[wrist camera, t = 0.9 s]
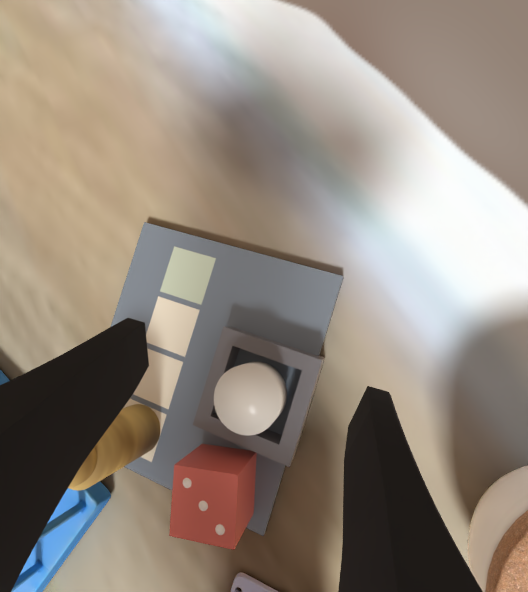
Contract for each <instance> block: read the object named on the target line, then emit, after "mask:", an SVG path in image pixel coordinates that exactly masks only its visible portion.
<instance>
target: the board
mask: <svg viewBox="0 0 528 592" xmlns="http://www.w3.org/2000/svg"><path fill="white" fill-rule="evenodd" d="M342 280H343V276H341V275H337V274H334V273H330V272H326V271H323V270H319V269H315V268H311V267H308V266H304V265H300V264H297V263H293V262H289V261H286V260H282V259H278V258H275V257H271V256H267V255H264V254H260V253H256V252H253V251H249V250H245V249H241V248H238V247H234V246H230V245H227V244H223V243H219V242H216V241H212V240H208V239H205V238H201V237H197V236H194V235H190V234H186V233H183V232H179V231H175V230H171V229H168V228H164V227H160V226H157V225H153V224H149V223H146V222H144V225H143V228H142V231H141V234H140V237H139V240H138V243H137V246H136V249H135V253H134V256H133V259H132V262H131V265H130V268H129V271H128V274H127V278H126V281H125V284H124V287H123V290H122V293H121V296H120V299H119V302H118V306H117V309H116V312H115V315H114V318H113V321H112V324H111V327H112V326H114V325H115V324H117V323H119V322H121V321H122V320H124V319H126V318H131V319H135V320H138V321H142V322H145V329H146V340H147V350H148V360H149V367H148V368H147V370H146V372H145V374H144V376H143V378H142V380H141V381H140V383H139V385H138V387H137V388H136V390H135V392H134V393H133V395H132V396H131V398H130V399H129V400H128V402H127V403H126V405H125V406H124V407H123V408H125V407H128V406H131V405H135V404H142V405H146V406H148V407H149V408H151V409H152V410H153V411H154V412H155V414H156V415H157V417H158V419H159V423H160V437H159V440H158V442H157V444H156V446H155V447H154V448H153V449H152V450H151V451H149V452H147V453H146V454H144V455H142V456H141V457H139V458H137V459H136V460H134V461H132V462H131V463H129V464H127V465H126V466H124V467H126V468H128V469H130V470H132V471H134V472H136V473H138V474H140V475H142V476H144V477H146V478H148V479H150V480H152V481H154V482H156V483H158V484H160V485H162V486H164V487H166V488H168V489H170V490H173V476H174V465H175V464H176V463H177V462H179V461H180V460H181V459H183V458H184V457H185V456H187V455H188V454H189V453H190V452H192V451H193V450H194V449H196V448H197V447H198V446H200V445H201V444H208V445H215V446H222V447H229V448H236V449H244V450H249V449H247V448H244V447H242V446H240V445H237V444H235V443H233V442H230V441H228V440H226V439H224V438H221V437H219V436H217V435H214V434H212V433H210V432H207V431H205V430H203V429H201V428H198V427H196V426H194V425H193V422H194V419H195V415H196V412H197V409H198V406H199V403H200V400H201V396H202V393H203V390H204V387H205V384H206V380H207V377H208V374H209V371H210V368H211V364H212V361H213V358H214V355H215V352H216V349H217V345H218V342H219V339H220V336H221V333H222V329H223V327H234V328H237V329H240V330H243V331H246V332H249V333H252V334H255V335H258V336H261V337H264V338H267V339H270V340H273V341H276V342H278V343H281V344H284V345H287V346H290V347H293V348H296V349H299V350H302V351H305V352H308V353H311V354H314V355H317V356H319V355H320V352H321V349H322V345H323V342H324V339H325V336H326V332H327V329H328V326H329V323H330V319H331V316H332V313H333V310H334V306H335V303H336V300H337V297H338V293H339V290H340V287H341V284H342ZM249 362H263V363H267V364H269V365H271V366H272V367H274V368H275V369H276V370H277V371H278V372H279V373H280V374H281V376H282V377H283V379H284V381H285V384H286V388H287V400H286V404H285V407H284V409H283V411H282V412H281V414H280V415H279V416H278V417H277V419H276V420H275V421H274V422H273V423H272V425H271V426H270V427H269V428H267V429H268V430H270V431H273V432H275V433H277V434H280V435H282V434H283V431H284V427H285V424H286V421H287V418H288V414H289V411H290V408H291V405H292V401H293V398H294V395H295V392H296V388H297V385H298V382H299V379H300V375H301V372H302V370H299V369H297V368H294V367H291V366H288V365H285V364H283V363H280V362H277V361H274V360H271V359H268V358H266V357H263V356H260V355H257V354H254V353H251V352H249V351H246V350H243V349H239V352H238V355H237V359H236V362H235V365H234V367H236V366H239V365H242V364H245V363H249ZM285 466H286V465H283V464H281V463H279V462H276V461H274V460H272V459H270V458H267V457H265V456H263V455H260V454H258V453H257V455H256V476H255V496H254V514H253V516H252V517H251V519H250V521H249V523H248V525H247V527H246V528H248V529H250V530H252V531H254V532H256V533H258V534H260V535H262V536H264V534H265V531H266V528H267V525H268V522H269V518H270V515H271V512H272V509H273V505H274V502H275V499H276V495H277V492H278V489H279V486H280V482H281V479H282V476H283V473H284V469H285Z"/></svg>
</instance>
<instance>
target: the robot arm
mask: <svg viewBox="0 0 528 592" xmlns="http://www.w3.org/2000/svg"><path fill="white" fill-rule="evenodd" d="M148 367H149V360H148V350H147V340H146V329H145V322H142V321H138V320H135V319H131V318H126V319H124V320H122V321H121V322H119V323H117V324H115V325H114V326H112V327H110V328H108V329H107V330H105V331H103V332H101V333H100V334H98V335H96V336H94V337H93V338H91V339H89V340H88V341H86V342H84V343H82V344H80V345H79V346H77V347H75V348H73V349H71V350H70V351H68V352H66V353H64V354H62V355H61V356H59V357H57V358H55V359H53V360H51V361H49V362H47V363H45V364H43V365H41V366H39V367H37V368H35V369H33V370H31V371H29V372H27V373H25V374H23V375H21V376H19V377H17V378H15V379H13V380H10V381H8V382H6V383H4V384H2V385H0V592H11V591H12V589H13V587H14V585H15V583H16V581H17V579H18V577H19V575H20V573H21V571H22V569H23V567H24V565H25V563H26V562H27V560H28V558H29V556H30V554H31V552H32V550H33V549H34V547H35V545H36V543H37V541H38V539H39V537H40V536H41V534H42V532H43V530H44V528H45V527H46V525H47V523H48V521H49V520H50V518H51V516H52V514H53V513H54V511H55V509H56V507H57V506H58V504H59V502H60V500H61V499H62V497H63V495H64V494H65V492H66V490H67V489H68V487H69V485H70V484H71V482H72V480H73V479H74V477H75V475H76V474H77V472H78V470H79V469H80V467H81V466H82V464H83V463H84V461H85V460H86V458H87V457H88V455H89V454H90V452H91V451H92V450H93V448H94V447H95V445H96V444H97V443H98V441H99V440H100V439H101V437H102V436H103V435H104V433H105V432H106V431H107V429H108V428H109V426H110V425H111V424H112V422H113V421H114V420H115V418H116V417H117V416H118V414H119V413H120V412H121V410H122V409H123V407H124V406H125V405H126V403H127V402H128V400H129V399H130V398H131V396H132V395H133V393H134V392H135V390H136V388H137V387H138V385H139V383H140V381H141V380H142V378H143V376H144V374H145V372H146V370H147V368H148ZM237 587H239V588H241V590H242V591H241V592H278V591H276V590H275V589H273V588H271V587H269V586H267V585H265V584H263V583H262V582H260V581H258V580H256V579H254V578H252V577H250V576H249V575H247V574H245V573H242V572H241V573H238V574H237V575H236V577H235V579H234V582H233V585H232V588H231V592H240V591H238V590H237ZM338 592H483V591H482V589H481V588H480V586H479V584H478V583H477V581H476V579H475V577H474V576H473V574H472V572H471V571H470V569H469V567H468V565H467V564H466V562H465V560H464V559H463V557H462V555H461V553H460V551H459V550H458V548H457V546H456V544H455V542H454V540H453V539H452V537H451V535H450V533H449V531H448V529H447V527H446V526H445V524H444V522H443V520H442V518H441V516H440V514H439V512H438V510H437V508H436V506H435V504H434V501H433V499H432V497H431V495H430V493H429V491H428V489H427V487H426V485H425V482H424V480H423V478H422V476H421V474H420V471H419V469H418V466H417V464H416V462H415V459H414V457H413V455H412V452H411V450H410V447H409V445H408V442H407V440H406V437H405V435H404V432H403V429H402V427H401V424H400V421H399V418H398V416H397V413H396V410H395V407H394V404H393V401H392V398H391V395H390V394H389V392H387V391H383V390H380V389H376V388H373V387H369V386H368V387H367V389H366V391H365V393H364V395H363V397H362V399H361V401H360V403H359V405H358V407H357V410H356V412H355V414H354V416H353V418H352V420H351V422H350V424H349V427H348V434H347V441H346V449H345V458H344V500H343V547H342V562H341V572H340V582H339V591H338Z"/></svg>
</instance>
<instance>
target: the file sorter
mask: <svg viewBox="0 0 528 592" xmlns="http://www.w3.org/2000/svg"><path fill="white" fill-rule="evenodd" d="M8 381H10V380H9V379H8V378H7V377H6V376H5V374H4V373H3V372H2V371H1V370H0V385H2V384H4V383H6V382H8ZM110 497H111V494H110V492H109V490H108V489H107V488H106V487H105V486H104V485H103V484H102V483H101V482H100V481H99V482H97V483H96V484H94V485H92V486H91V487H89V488H87V489H85V490H72V489H69V488H68V489H67V490H66V492H65V494H64V495H63V497H62V499H61V500H60V502H59V504H58V506H57V507H56V509H55V511H54V513H53V514H52V516H51V518H50V520H49V521H48V523H47V525H46V527H45V528H44V530H43V532H42V534H41V536H40V537H39V539H38V541H37V543H36V545H35V547H34V549H33V550H32V552H31V554H30V556H29V558H28V560H27V562H26V563H25V565H24V567H23V569H22V571H21V573H20V575H19V577H18V579H17V581H16V583H15V585H14V587H13V589H12V591H11V592H42V591H43V590H44V589H45V587H46V586H47V585H48V583H49V582H50V580H51V579H52V578H53V576H54V575H55V573H56V572H57V571H58V569H59V568H60V567H61V565H62V564H63V562H64V561H65V560H66V558H67V557H68V556H69V554H70V553H71V551H72V550H73V549H74V547H75V546H76V545H77V543H78V542H79V540H80V539H81V538H82V536H83V535H84V534H85V532H86V531H87V529H88V528H89V527H90V525H91V524H92V523H93V521H94V520H95V519H96V517H97V516H98V515H99V513H100V512H101V510H102V509H103V508H104V506H105V505H106V503H107V502H108V501H109V499H110Z"/></svg>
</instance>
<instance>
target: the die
mask: <svg viewBox="0 0 528 592" xmlns="http://www.w3.org/2000/svg"><path fill="white" fill-rule="evenodd" d="M256 455H257V453H256V452H253V451H251V450H244V449H236V448H229V447H222V446H215V445H208V444H201V445H200V446H198V447H197V448H196V449H194V450H193V451H192V452H190V453H189V454H188V455H187V456H185V457H184V458H183V459H181V460H180V461H179V462H177V463H176V464H175V465H174V476H173V490H172V505H171V519H170V534H169V536H172V537H177V538H182V539H186V540H191V541H196V542H200V543H205V544H209V545H214V546H219V547H223V548H228V549H233V550H234V549H235V547H236V546H237V544H238V542H239V540H240V538H241V536H242V534H243V532H244V531H245V529H246V527H247V525H248V523H249V521H250V519H251V517H252V516H253V514H254V496H255V476H256Z"/></svg>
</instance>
